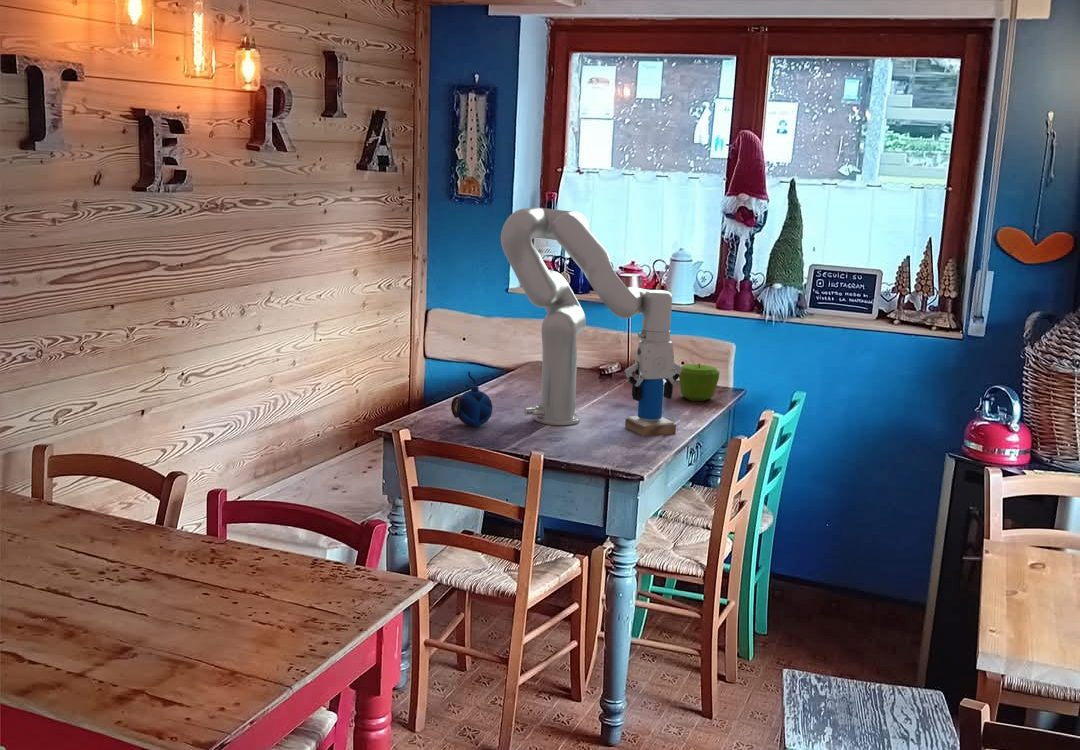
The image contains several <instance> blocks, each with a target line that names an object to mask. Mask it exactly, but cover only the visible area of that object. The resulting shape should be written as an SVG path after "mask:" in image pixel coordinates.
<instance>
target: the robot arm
mask: <svg viewBox="0 0 1080 750" xmlns="http://www.w3.org/2000/svg"><path fill="white" fill-rule="evenodd" d="M533 239H534V240H535V239H544V240H552V241H557V243H558V245H560V246H561V248H562V249H563V250H564V251H565V252H566V254H568V256H569V257H570V258H571V259H572V260H573V262H574V263H575V264H576V265H577V266H578V267H579V269H580V270H581V271H582V272H583V274H584V276H585V279H587V281H588V282H589V285H590V286H591V287H592V289H593V291H594V293H596V295H597V296H598V298H599V299H600V300H601V301H602V302H603V304H604V305H605V306H606V308H608V309H609V310H610V311H611V313H612V314H613V315H614V316H616V317H618V318H620V319H630V318H633V317H634V316H636V315H641V314H642V323H641V325H642V327H641V330H640V332H638V333H637V338H638V339H641V340H639V341H638V346H637V348H636V353H635V362H634V363H633V364H632V365H631V366H628V367H626V368H625V369H624V374H625V376H626V379H627V381H628V382H629V383H630V384H631V385H632V386H631V387H632V388H631V397H632V399H633V400H634V401H636V402H639V401H640V398H641V387H640V386H639V385H640V384H641V382H642V381H643V380H644V379H645V380H654V379H663V380H665V381H664V386H663V398H666V399H668V400H671V399H672V398H673V397H672V395H673V390H674V389H673V387H674V385H675V384H676V381H677V380H678V379H679V374H680V373H681V371H682V366H681V365H679V364H677V363H675V352H674V345H673V341H671V339H670V336H671V324H672V323H671V322H672V308H673V307H672V306H673V296H672V293H671V292H670V291H667V290H664V289H663V290H662V289H646V288H645V289H644V288H641V287H636V286H628V287H627V286H626V285H625V283H624V282H623V281H622V280H621V278H620V277H619V276H618V275H617V273H616V271H615V270H614V268H613V265H612V262H611V258H610V257H611V256H610V253H609V252H608V250H607V249H606V247H604V246H603V244H602V243H601V242H600V240H598V238H597V237H596V236H595V235H594V234H593V233H592V231H590V224H589V220H588V219H587V218H586V216H585V215H584V214H583V213H581V212H579V211H573V210H562V209H561V210H560V209H554V208H553V209H552V208H547V207H546V208H544V207H527V208H520V209H517V210H516V211H514V212H512V213H511V214H509V216H508V217H507V218H506V220H505V222H504V224H503V226H502V229H501V233H500V245H501V247H502V249H501V250H502V251H503V253H504V255H505V258H506V259H507V262H508V263H509V265H510V267H511V268H512V271H513V272H514V274H515V276H516V278H517V280H518V282H519V284H520V286H521V287H522V289H523V291H524V293H525V295H526V297H527V299H528V300H529V302H530V303H531V304H532V305H533V306H535V307H536V308H544V310H545V312H546V313H547V314H546V315H545V317H544V318H543V320H542V323H541V330H540V331H541V343H542V344H541V345H542V357H541V358H542V360H541V386H540V387H541V389H540V392H541V393H540V403H539V402H538V403H537V404H536V405H535V406H534V407H524V408H523V413H524V415H525V416H529V415H532V416H534V420H535V421H536V422H538V423H539V424H545V425H550V426H571V425H575V424H578V423H580V421H581V416H580V415H579V414H576V413H575V412H576V392H577V391H576V390H577V389H576V388H577V370H578V369H577V366H578V364H577V363H578V349H577V347H578V345H577V336H579V335H580V334H581V333H582V332H583V331H584V329H585V327H586V322H587V319H586V314H585V312H584V309H583V308H582V307H581V304H580V302H579V300H578V299H577V297H576V295H575V294H574V291H573V289H572V288H571V286H570V284H569V283H568V281H567V279H566V278H565V277H564V276H563V274H561V273H560V272H558V271H555V270H551V269H550V270H549V268H548V267H547V265H546V263H545V262H544V260H543V257H542V255H541V254H540V253H539V251H538V250H537V248H536V247H535V245H534V243H533ZM633 372H634V375H635V376H633Z"/></svg>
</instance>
